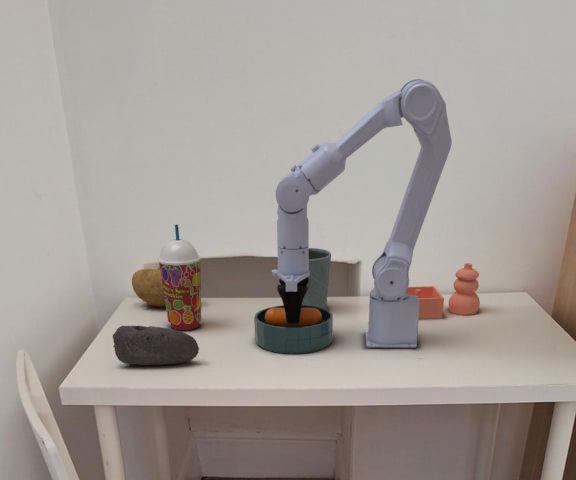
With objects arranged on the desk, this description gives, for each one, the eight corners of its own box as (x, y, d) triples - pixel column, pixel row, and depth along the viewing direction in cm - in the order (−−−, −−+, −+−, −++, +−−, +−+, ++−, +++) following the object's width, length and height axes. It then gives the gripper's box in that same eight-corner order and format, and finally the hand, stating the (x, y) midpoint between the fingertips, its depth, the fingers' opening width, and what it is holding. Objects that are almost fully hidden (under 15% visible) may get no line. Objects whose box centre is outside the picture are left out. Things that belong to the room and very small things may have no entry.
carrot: (321, 324, 146) (322, 305, 144) (321, 329, 143) (321, 311, 141) (265, 323, 146) (265, 305, 145) (264, 329, 143) (263, 310, 141)
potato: (192, 312, 163) (189, 274, 159) (129, 311, 164) (124, 274, 160) (200, 299, 172) (197, 263, 168) (140, 299, 173) (135, 263, 169)
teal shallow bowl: (332, 329, 152) (332, 304, 149) (332, 354, 139) (332, 328, 137) (259, 328, 153) (258, 304, 150) (252, 354, 140) (251, 328, 138)
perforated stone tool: (202, 358, 138) (199, 321, 135) (198, 369, 134) (195, 331, 130) (121, 358, 139) (116, 322, 135) (115, 369, 134) (109, 331, 131)
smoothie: (157, 330, 153) (146, 227, 143) (177, 318, 160) (168, 219, 149) (193, 334, 150) (185, 230, 140) (212, 322, 157) (205, 222, 146)
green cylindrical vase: (314, 300, 170) (315, 245, 163) (339, 311, 162) (340, 254, 156) (276, 307, 165) (274, 251, 159) (299, 319, 158) (299, 261, 152)
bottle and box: (399, 319, 157) (402, 271, 152) (391, 306, 165) (394, 260, 160) (484, 317, 158) (490, 269, 152) (472, 304, 166) (478, 258, 161)
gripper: (273, 237, 143) (275, 308, 150) (268, 255, 131) (270, 331, 138) (310, 237, 143) (310, 308, 150) (308, 255, 130) (308, 331, 138)
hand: (293, 319), depth 144 cm, fingers closed on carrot, 3 cm apart
